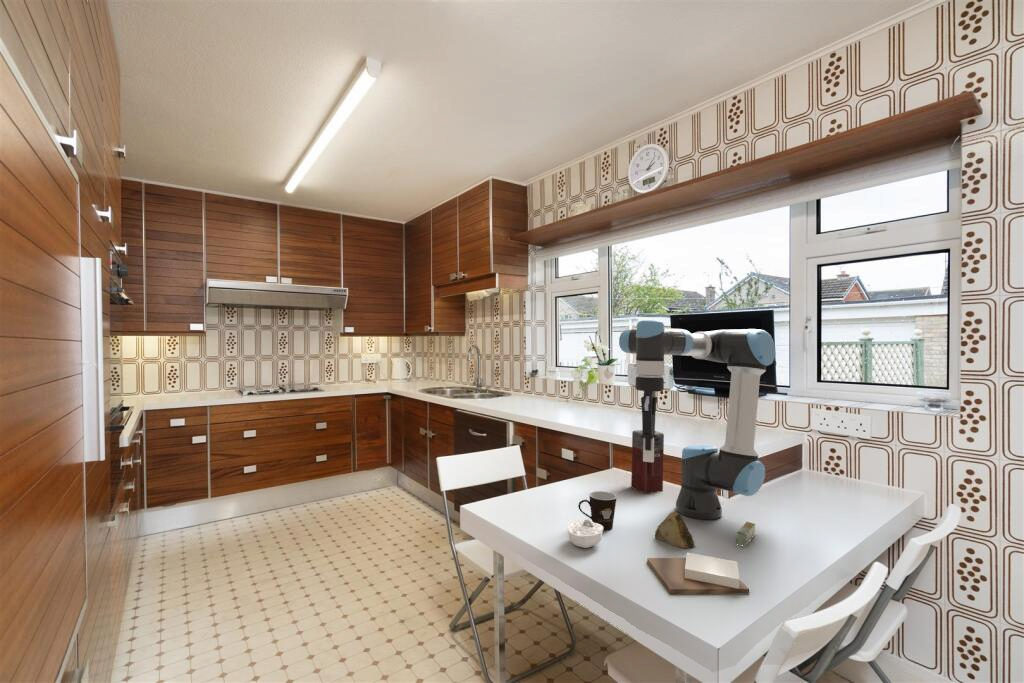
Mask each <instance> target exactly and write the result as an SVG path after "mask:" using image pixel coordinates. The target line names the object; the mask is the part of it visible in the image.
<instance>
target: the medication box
mask: <svg viewBox="0 0 1024 683" xmlns="http://www.w3.org/2000/svg"><path fill="white" fill-rule="evenodd" d="M755 533H756V523H754V522H749V521H746V522H745V523H744V524H743V525H742V526H741V528H740V529H738V531H737V533H736V541H735V542H736V544H738V545H743V546H746V545H747V546H748V544H749V543H750V542H749V540H750V539H751V538H752V536H753V535H754V536H755ZM754 536H753V537H754ZM752 539H753V538H752ZM752 539H751V540H752ZM751 540H750V541H751ZM748 542H749V543H748ZM747 543H748V544H747ZM736 544H735V545H736ZM738 545H737V546H738ZM747 546H746V547H747Z"/></svg>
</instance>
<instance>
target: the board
mask: <svg viewBox="0 0 1024 683" xmlns="http://www.w3.org/2000/svg"><path fill="white" fill-rule="evenodd" d="M646 563H647V565H648V566H649V567H650V569H651V570H652V572H653V573H654V572H655V573H654V574H655V576H656V577H657V579H658V580H659V579H660V580H659V582H661V583H663V584H662V585H663V586H664V587H665V589H666V591H667V590H668V591H667V592H668V593H669V595H722V594H721V593H725V594H724V595H731V594H730V593H749V594H750V587H748V586H747V585H746V584H745V583H744V582H743V581H742V580H741V579H739V589H736V588H731V587H726V586H721V585H716V584H711V583H706V582H701V581H696V580H691V579H686V578H685V564H686V557H647V558H646Z"/></svg>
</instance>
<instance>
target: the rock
mask: <svg viewBox="0 0 1024 683" xmlns="http://www.w3.org/2000/svg"><path fill="white" fill-rule="evenodd" d="M654 538H656V539H658V540H661V541H663V542H665V543H668V544H670V545H672V546H676V547H679V548H681V549H693V548H696V545H695V541H694V538H693V535H692V533H691V531H689V528H688V526H687V524H686V522H685V520H684V519H683V517H682V516H681V514H680V513H679V512H677V511H673V512H670V513H669V514H668V516H666V517H665V519H664V520H663V521H662V522H660V524H659V525H658V526H657V529H656V530H655V532H654Z"/></svg>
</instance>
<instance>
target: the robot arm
mask: <svg viewBox="0 0 1024 683" xmlns="http://www.w3.org/2000/svg"><path fill="white" fill-rule="evenodd" d="M618 346H619V347H620V350H621V352H623V353H627V354H633V355H634V354H635V360H636V361H635V362H636V363H634V364H633V367H634V368H635V374H636V377H635V385H634V386H635V390H636V391H643V395H642V397H641V398H640V406H641V416H642V417H641V418H642V419H641V420H642V421H641V422H642V426H641V427H642V429H641V430H642V432H643V434H642V435H641V438H643V461H644V462H654V438H653V437H657V435H654V434H655V431H656V412H657V403H658V397H657V396H656V392H662V391H664V389H665V387H664V386H665V383H664V382H665V380H664V378H663V377H662V376H664V375H665V355H668V356H670V355H672V356H687V357H689V356H691V357H692V358H694V359H696V360H706V361H711V362H716V363H723V364H727V365H726V368H727V369H728V371H729V372H730V373H731V375H730V384H729V385H730V386H729V396H728V409H727V418H726V428H725V441H724V442H725V443H724V444H723V445H722V446H721V447H719V449H718V447H717V446H715V445H688V446H685V447H684V448H682V452H681V459H680V461H681V477H680V478H681V484H680V485H681V486H680V490H679V493H678V496H677V498H676V501H675V510H676V511H675V512H677V513H678V514H680V515H683V516H685V517H688V518H689V517H690V518H693V519H699V520H708V519H709V520H717V519H716V518H718V519H720V518H722V514H723V513H722V512H723V509H722V506H721V505H722V504H721V502H720V499H719V495H718V493H717V491H718V489H720V490H723V491H727V492H731V493H733V494H735V495H740V496H745V497H752V496H755V494H757V493H758V492H759V490H761V488H762V487H763V484H764V482H765V477H766V469H765V465H764V464H763V462H761V461H760V460H759V454H758V452H757V451H756V449H755V440H756V439H755V438H756V427H757V426H756V425H757V414H758V405H759V404H758V403H759V390H760V379H761V376H762V375H764V373H765V372H766V371H767V366H770V365H772V364H773V363H774V360H775V358H776V346H775V342H774V340H773V338H772V335H771V334H770V333H769V332H768V331H766V330H765V329H756V328H747V329H745V328H743V329H717V330H710V331H696V332H693V333H691V332H690V331H689V330H687V329H683V328H666V327H665V322H664V320H663V321H662V320H649V319H648V320H640V321H638V322H637V323H636V329H633V328H631V329H626V330H623V331H622V332H621V333H620V334H619V337H618ZM719 517H720V518H719Z"/></svg>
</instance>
